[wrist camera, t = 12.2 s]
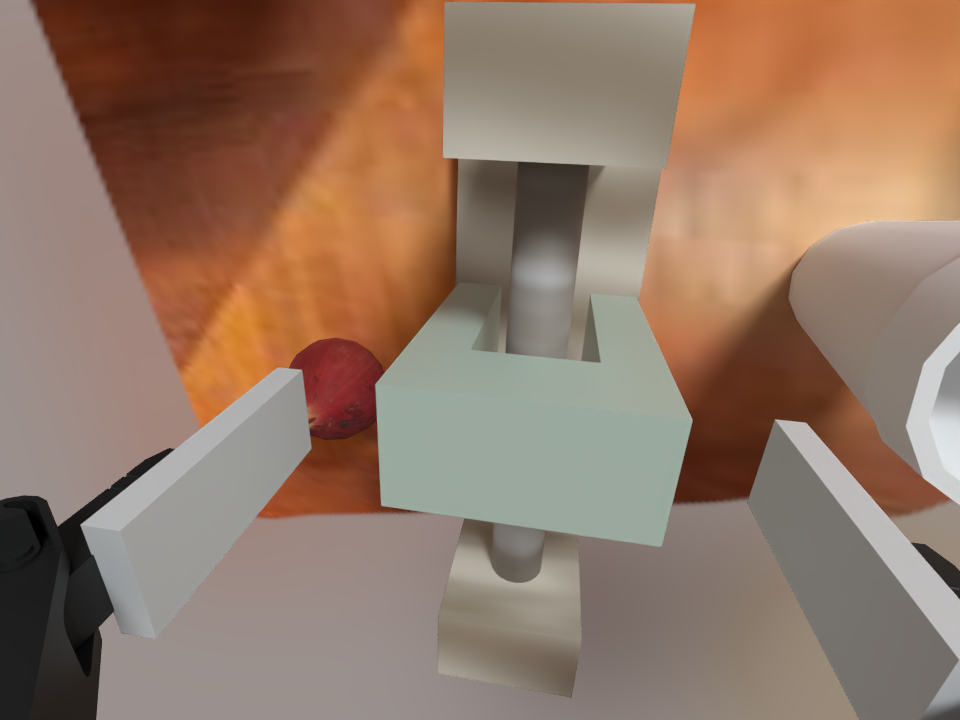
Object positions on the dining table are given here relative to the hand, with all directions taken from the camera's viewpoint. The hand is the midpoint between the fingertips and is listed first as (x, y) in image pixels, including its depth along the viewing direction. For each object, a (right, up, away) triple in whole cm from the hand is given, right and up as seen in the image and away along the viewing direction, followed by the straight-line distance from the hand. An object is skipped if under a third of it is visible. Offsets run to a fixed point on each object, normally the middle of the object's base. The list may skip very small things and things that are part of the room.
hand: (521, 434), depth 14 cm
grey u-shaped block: (+2, +3, +9) cm, 10 cm away
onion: (-9, +2, +19) cm, 21 cm away
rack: (+3, +6, +15) cm, 16 cm away
